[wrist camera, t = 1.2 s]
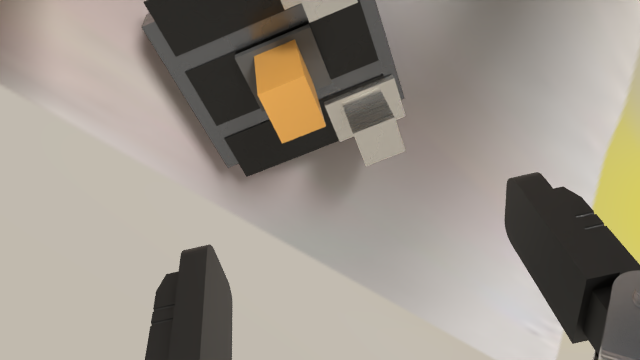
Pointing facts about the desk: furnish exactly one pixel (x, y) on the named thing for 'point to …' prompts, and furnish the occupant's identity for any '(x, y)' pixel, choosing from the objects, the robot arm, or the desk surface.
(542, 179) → the robot arm
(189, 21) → the panel
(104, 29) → the desk surface
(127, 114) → the desk surface
